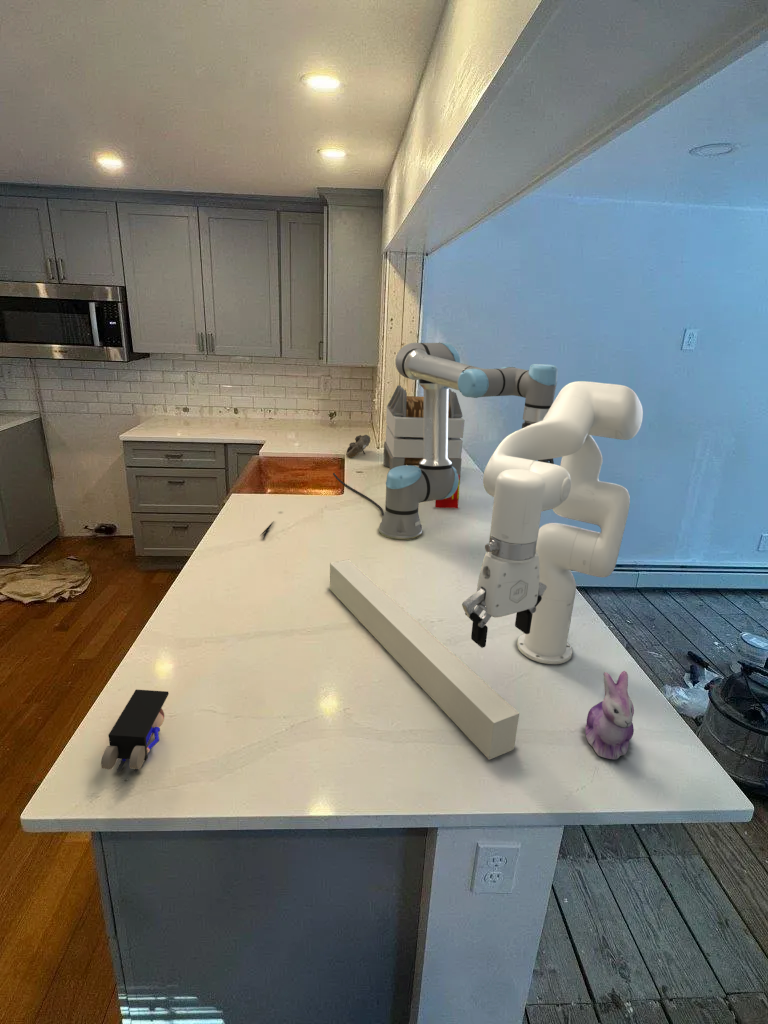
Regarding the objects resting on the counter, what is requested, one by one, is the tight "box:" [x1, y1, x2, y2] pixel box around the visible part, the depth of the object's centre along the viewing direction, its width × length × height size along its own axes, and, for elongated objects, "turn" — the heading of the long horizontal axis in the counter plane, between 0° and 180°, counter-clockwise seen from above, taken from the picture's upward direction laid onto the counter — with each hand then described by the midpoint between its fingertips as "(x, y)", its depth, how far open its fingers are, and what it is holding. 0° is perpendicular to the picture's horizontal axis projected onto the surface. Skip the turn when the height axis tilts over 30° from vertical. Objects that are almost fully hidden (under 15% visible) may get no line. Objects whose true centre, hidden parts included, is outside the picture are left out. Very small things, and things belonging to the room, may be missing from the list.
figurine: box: [584, 670, 635, 760], centre depth 103 cm, size 9×10×15 cm
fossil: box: [345, 434, 371, 459], centre depth 304 cm, size 22×10×15 cm
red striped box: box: [434, 474, 461, 509], centre depth 239 cm, size 12×13×30 cm
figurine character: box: [100, 689, 169, 774], centre depth 98 cm, size 7×8×15 cm
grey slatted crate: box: [383, 384, 465, 476], centre depth 268 cm, size 34×33×41 cm
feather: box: [260, 520, 275, 540], centre depth 202 cm, size 2×28×2 cm
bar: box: [329, 559, 520, 761], centre depth 130 cm, size 71×6×8 cm, turn 29°
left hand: (526, 495), depth 164 cm, fingers open, 13 cm apart
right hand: (500, 636), depth 98 cm, fingers open, 9 cm apart
